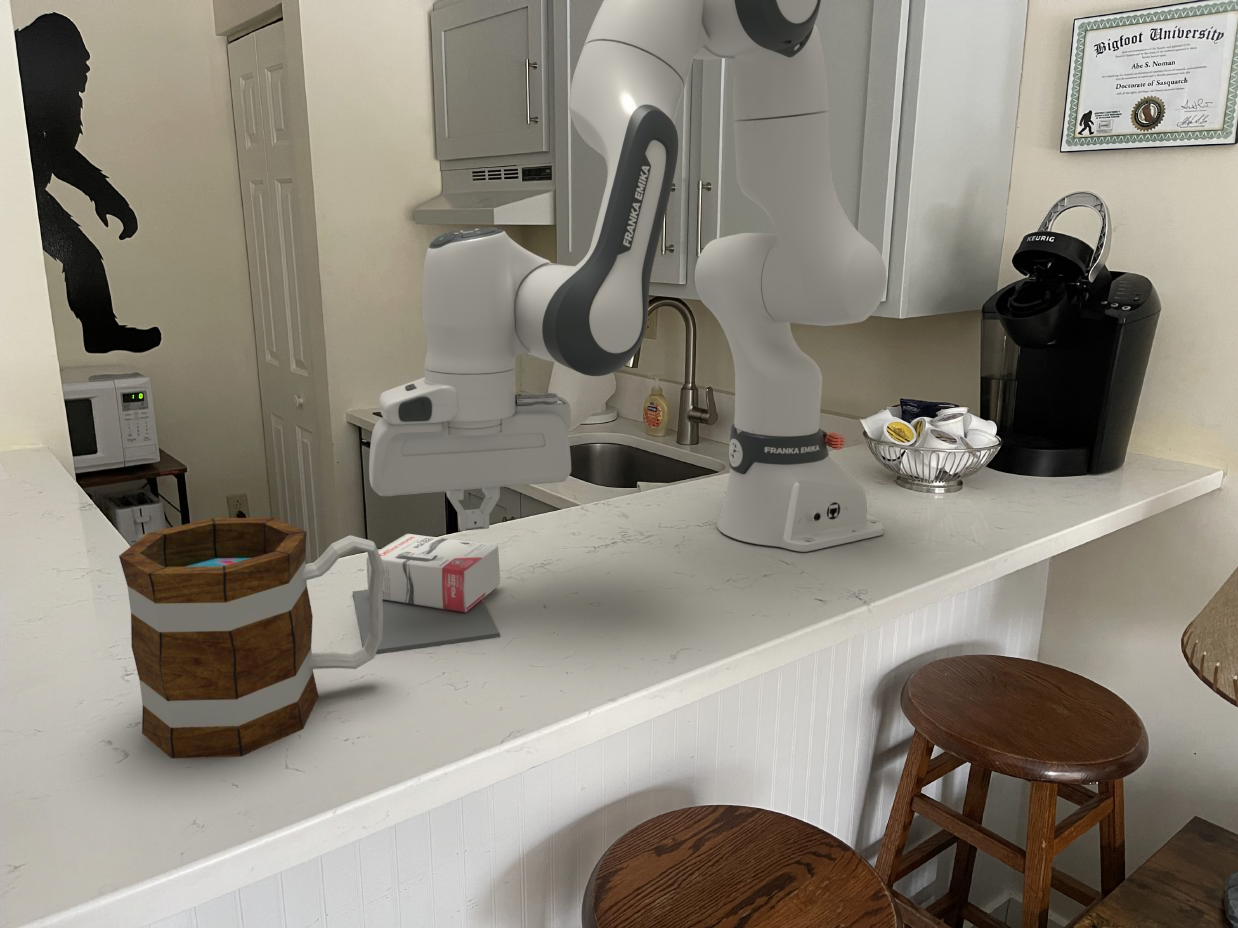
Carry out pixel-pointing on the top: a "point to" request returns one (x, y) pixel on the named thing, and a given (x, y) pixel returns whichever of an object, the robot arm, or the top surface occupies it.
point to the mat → (423, 624)
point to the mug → (232, 632)
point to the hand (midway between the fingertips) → (473, 528)
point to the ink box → (438, 572)
